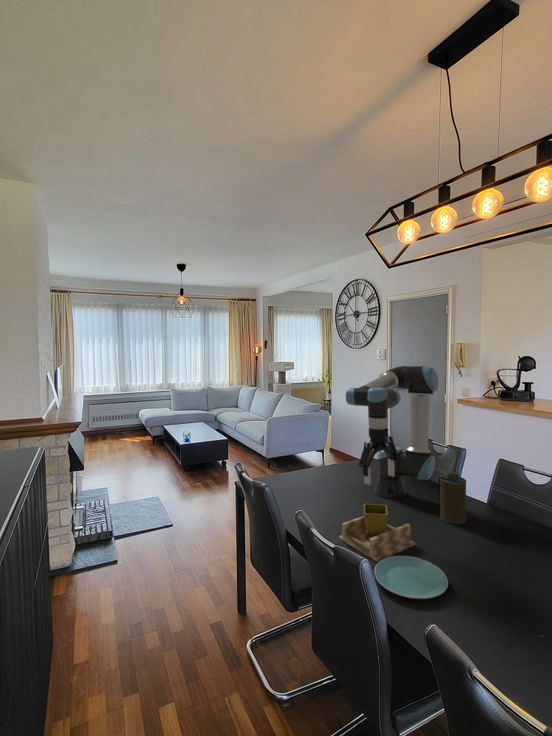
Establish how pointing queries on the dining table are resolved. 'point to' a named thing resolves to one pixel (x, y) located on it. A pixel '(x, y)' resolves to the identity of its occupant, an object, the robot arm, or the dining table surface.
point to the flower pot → (375, 518)
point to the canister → (452, 498)
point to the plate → (411, 577)
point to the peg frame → (376, 539)
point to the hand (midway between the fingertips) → (379, 479)
